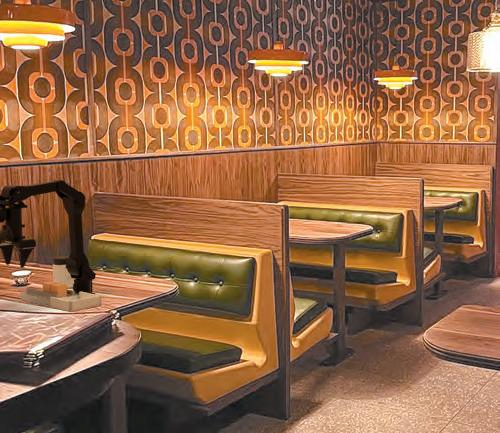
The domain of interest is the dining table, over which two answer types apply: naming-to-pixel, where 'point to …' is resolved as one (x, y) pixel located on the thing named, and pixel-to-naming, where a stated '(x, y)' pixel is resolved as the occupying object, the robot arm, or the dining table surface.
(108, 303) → the dining table surface
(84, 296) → the chip tray
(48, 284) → the orange rounded block
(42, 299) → the slot plate
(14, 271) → the dining table surface
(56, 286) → the orange cube
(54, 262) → the jar
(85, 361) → the dining table surface
